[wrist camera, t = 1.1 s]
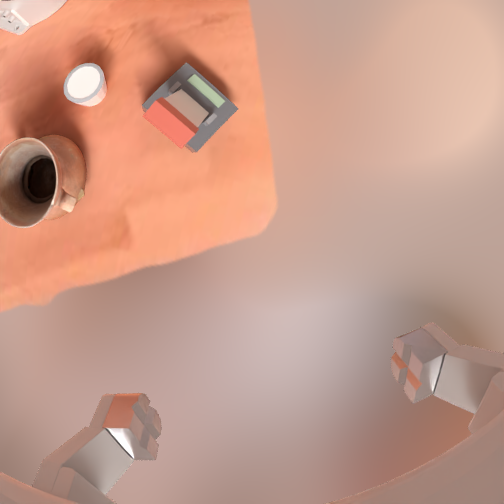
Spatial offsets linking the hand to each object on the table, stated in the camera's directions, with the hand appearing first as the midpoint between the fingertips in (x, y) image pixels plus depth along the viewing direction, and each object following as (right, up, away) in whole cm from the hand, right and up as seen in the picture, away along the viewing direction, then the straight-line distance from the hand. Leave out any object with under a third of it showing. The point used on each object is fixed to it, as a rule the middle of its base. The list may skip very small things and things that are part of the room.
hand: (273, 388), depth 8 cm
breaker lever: (-10, +27, +30) cm, 41 cm away
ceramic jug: (-36, +18, +31) cm, 51 cm away
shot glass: (-28, +32, +28) cm, 51 cm away
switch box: (-12, +29, +35) cm, 47 cm away
